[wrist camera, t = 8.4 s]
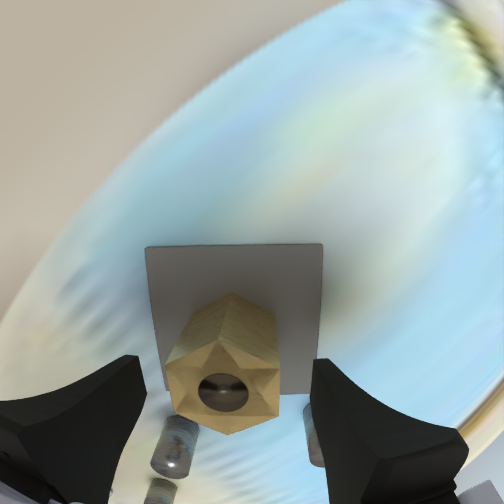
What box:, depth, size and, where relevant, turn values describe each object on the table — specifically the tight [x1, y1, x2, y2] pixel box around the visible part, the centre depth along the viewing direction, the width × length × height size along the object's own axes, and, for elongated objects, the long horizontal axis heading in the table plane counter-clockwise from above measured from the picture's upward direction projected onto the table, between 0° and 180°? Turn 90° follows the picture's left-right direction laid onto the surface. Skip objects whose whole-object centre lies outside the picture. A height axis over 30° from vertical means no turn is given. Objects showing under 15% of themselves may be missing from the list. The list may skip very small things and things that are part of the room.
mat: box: [145, 244, 323, 395], centre depth 16 cm, size 9×9×1 cm
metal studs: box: [144, 403, 325, 504], centre depth 17 cm, size 21×20×4 cm
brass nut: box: [165, 292, 280, 435], centre depth 13 cm, size 4×5×5 cm
